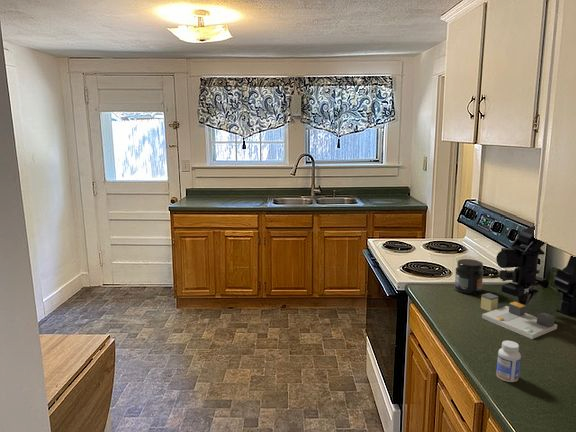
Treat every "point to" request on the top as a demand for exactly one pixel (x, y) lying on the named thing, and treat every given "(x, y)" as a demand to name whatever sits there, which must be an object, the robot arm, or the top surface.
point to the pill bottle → (508, 361)
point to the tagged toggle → (517, 308)
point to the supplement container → (469, 276)
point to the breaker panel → (518, 322)
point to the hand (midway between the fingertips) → (522, 308)
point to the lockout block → (489, 301)
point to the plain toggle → (545, 319)
